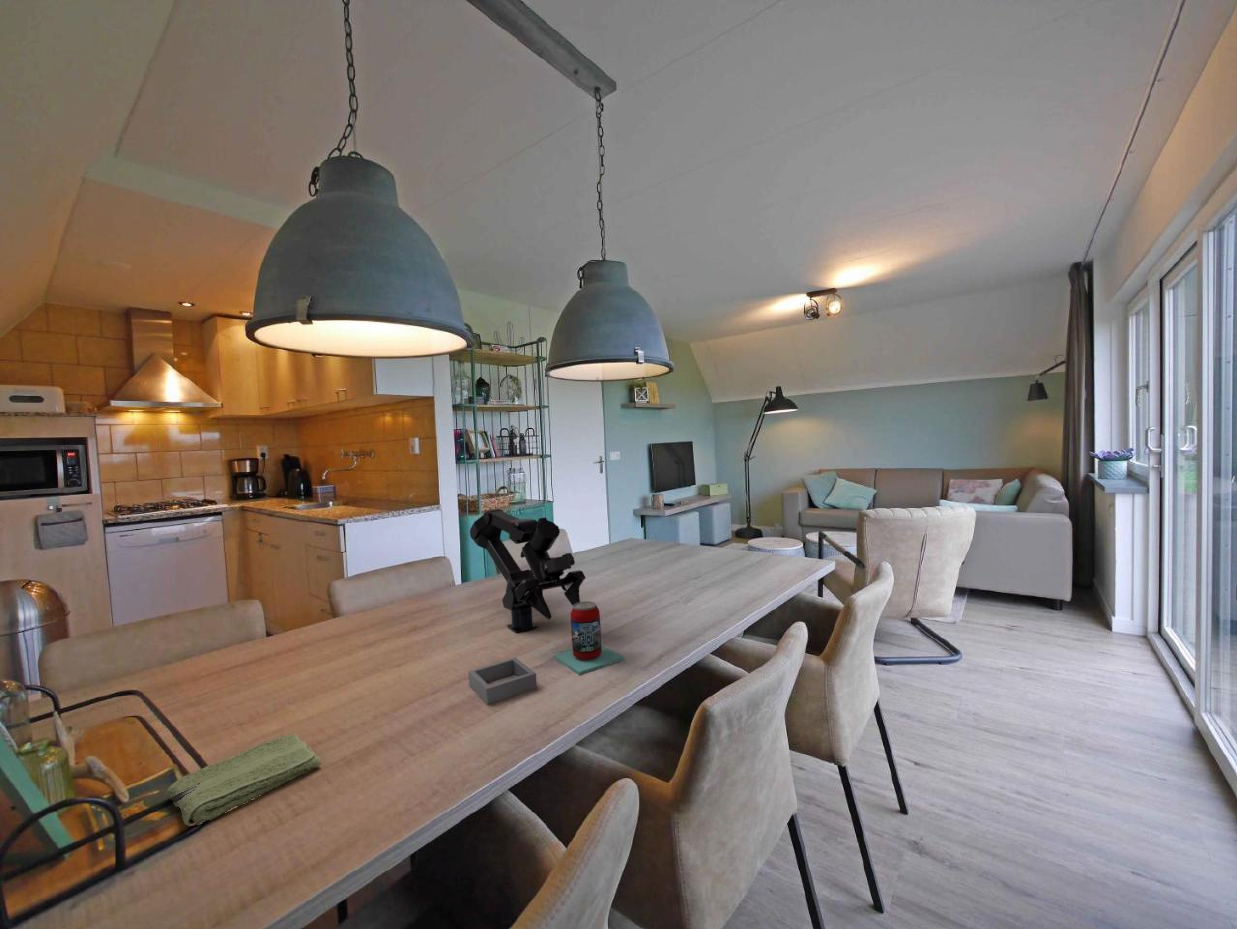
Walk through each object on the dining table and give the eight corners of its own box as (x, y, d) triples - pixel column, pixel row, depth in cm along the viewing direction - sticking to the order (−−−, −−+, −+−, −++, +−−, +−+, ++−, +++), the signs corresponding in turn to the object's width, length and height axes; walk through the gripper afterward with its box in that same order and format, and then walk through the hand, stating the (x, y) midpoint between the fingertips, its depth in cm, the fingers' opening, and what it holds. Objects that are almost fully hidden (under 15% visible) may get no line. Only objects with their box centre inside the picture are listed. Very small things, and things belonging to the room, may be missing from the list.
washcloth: (326, 768, 84) (325, 749, 84) (188, 837, 70) (186, 814, 70) (293, 743, 92) (292, 725, 92) (163, 800, 78) (162, 779, 78)
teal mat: (553, 657, 122) (553, 655, 122) (596, 644, 129) (596, 641, 129) (579, 674, 112) (578, 672, 112) (624, 659, 119) (624, 656, 119)
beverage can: (573, 663, 117) (570, 610, 116) (571, 651, 124) (569, 602, 123) (603, 660, 118) (600, 607, 117) (600, 648, 125) (597, 599, 124)
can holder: (469, 685, 110) (468, 671, 110) (515, 670, 116) (515, 657, 116) (487, 704, 101) (486, 689, 101) (536, 687, 107) (535, 673, 107)
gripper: (523, 546, 123) (550, 603, 116) (582, 539, 137) (610, 590, 129) (503, 573, 129) (528, 629, 121) (562, 564, 142) (587, 614, 135)
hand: (565, 614), depth 127 cm, fingers open, 9 cm apart
